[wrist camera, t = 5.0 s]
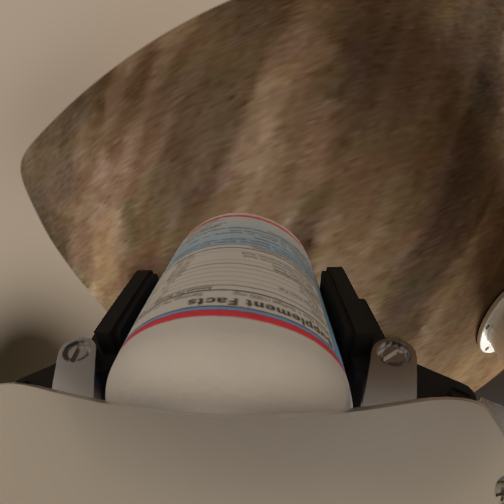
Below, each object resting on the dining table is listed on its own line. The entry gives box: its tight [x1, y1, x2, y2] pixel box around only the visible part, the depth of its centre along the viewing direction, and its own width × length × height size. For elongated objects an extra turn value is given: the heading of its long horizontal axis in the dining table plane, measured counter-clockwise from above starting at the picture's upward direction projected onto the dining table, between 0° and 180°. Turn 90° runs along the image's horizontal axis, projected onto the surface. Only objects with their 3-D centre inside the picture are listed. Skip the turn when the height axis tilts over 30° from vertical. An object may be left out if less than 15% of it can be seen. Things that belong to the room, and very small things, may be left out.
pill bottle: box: [105, 213, 353, 414], centre depth 8 cm, size 6×6×11 cm
